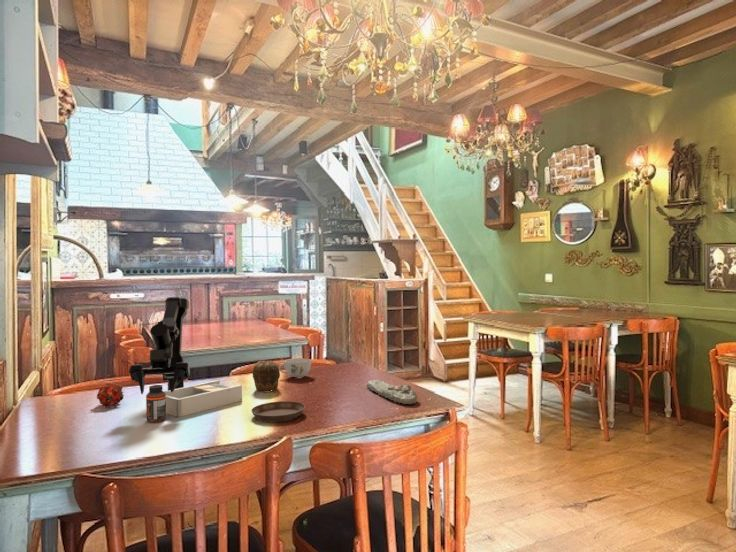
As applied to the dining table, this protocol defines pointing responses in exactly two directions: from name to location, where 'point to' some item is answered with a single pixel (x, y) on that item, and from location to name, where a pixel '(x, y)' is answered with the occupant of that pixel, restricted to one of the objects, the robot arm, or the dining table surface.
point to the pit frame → (200, 399)
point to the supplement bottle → (156, 404)
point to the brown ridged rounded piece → (266, 375)
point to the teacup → (296, 367)
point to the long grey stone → (393, 391)
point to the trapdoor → (210, 387)
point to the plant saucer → (278, 411)
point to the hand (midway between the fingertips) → (156, 392)
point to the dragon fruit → (110, 394)
